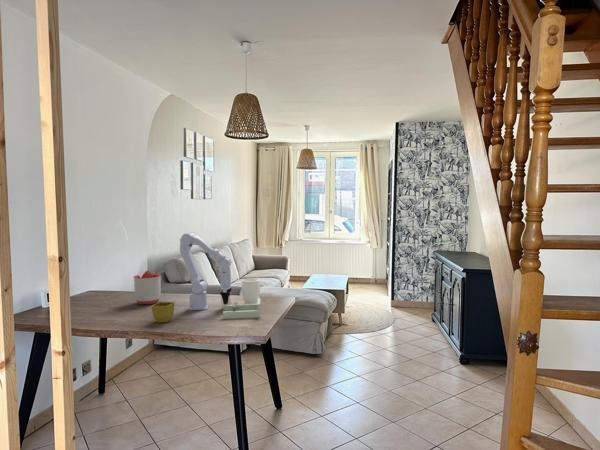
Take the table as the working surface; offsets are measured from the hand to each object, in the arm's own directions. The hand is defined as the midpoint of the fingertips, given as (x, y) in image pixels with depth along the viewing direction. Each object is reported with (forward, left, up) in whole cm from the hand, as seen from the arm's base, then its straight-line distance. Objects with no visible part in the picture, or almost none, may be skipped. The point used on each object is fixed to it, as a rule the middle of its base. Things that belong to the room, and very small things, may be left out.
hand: (226, 302), depth 227 cm
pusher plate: (+6, -14, -3) cm, 16 cm away
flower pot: (-30, -21, -4) cm, 37 cm away
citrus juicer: (-50, +23, -4) cm, 55 cm away
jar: (+14, +7, -4) cm, 16 cm away
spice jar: (0, 0, -4) cm, 4 cm away
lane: (+9, -14, -4) cm, 17 cm away
